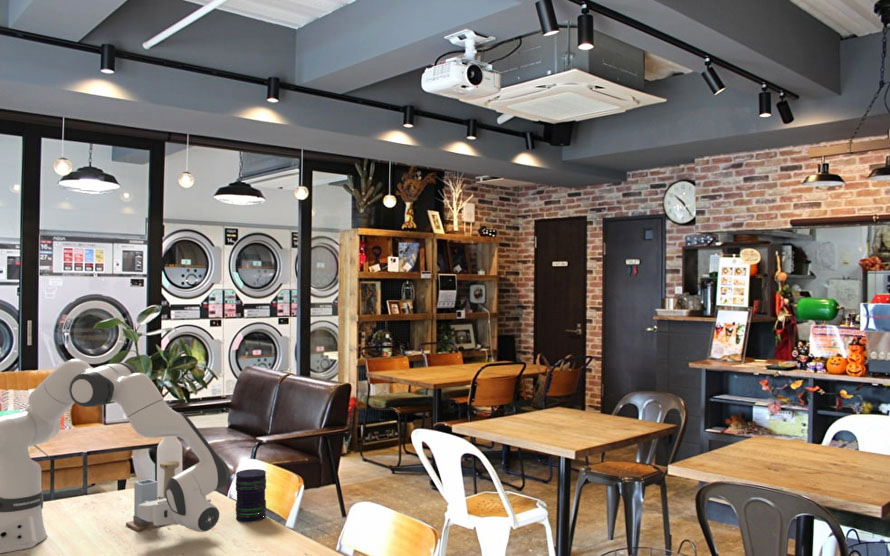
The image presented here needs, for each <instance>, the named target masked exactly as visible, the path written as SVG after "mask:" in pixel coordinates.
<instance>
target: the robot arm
mask: <svg viewBox="0 0 890 556" xmlns="http://www.w3.org/2000/svg"><path fill="white" fill-rule="evenodd" d="M111 402H114V403H117V404H118V405H119V406H120V407H121V409H122V410H123V412H124V414H125V416H126V418H127V420H128V422H129V424H130V425H131V427H132V429H133V430H134V431H135V432H136V434H138V435H140V436H142V437H145V438H150V439H151V438H153V439H155V438H163V437H165V436H177V438H180V439H182V440H184V442H185V443H186V444H187V446H188V447H189V448H190V450H192V452H193V453H194V454H195V456H196V457H197V458H198V460H199V462H197V463H195V464H194V465H191V466H190V467H188V468H186V469H185V470H184V469H183V470H182V472H180V473H179V474H177V475H175V476H173V477H172V478H170V479H169V480H168V483H167V486H166V491H165V496H166V498H164V499H163V498H159V499H157V500H155V501H144V503H142V504H139V505H138V507H137V515H138V517H139V518H141V519H143V520H145V521H148V522H153V525H155V526H159V525H164V526H169V525H175V526H178V525H179V526H182V527H185V528H186V529H187V530H191V531H194V532H197V533H205V532H208V531H210V530H211V529H213V528H214V527H215V526H216V525H217V523H218V522H219V519H220V511H219V509H218V507H217V506H215V505H214V504H213V503H211V502H212V500H211V498H210V497H207V496H208V495H210V494H212V493H214V492H216V491H218V490H220V489H222V488H223V487H226V486H227V484H228V481H229V477H230V467H229V466H228V464H227V463H226V461H225V460H224V459H223V458H222V457H221V456H220V455H219V454H218V453H217V452H216V451H215V450H214V449H213V447H212V445H210V444H209V442H208V441H207V439H206V438H205V436H204V435H203V434H202V433H201V432H200V430H199V429H198V428H197V427H196V425H195V424H194V423H193V422H192V420H191V419H190V418H189V417H188V416H187V415H186V414H185V413H183V412H178V411H176V410H174V409H172V407H170V406H169V405H168V404H167V403H166V401H165V399H164V397H163V395H162V393H161V392H160V391H159V389H158V388H157V386H156V384H155V383H154V382H153V381H152V379H151V378H150V377H149V376H148V374H146V373H142V372H137V370H136V368H135V367H134V366H133V365H131V364H130V363H126V362H111V363H107V364H102V365H99V366H97V367H93V366H91V365H90V364H89V363H88V362H87V361H85V360H82V359H80V358H71V359H69V360H66V361H65V362H64V363H61V364H60V365H59V366H58V367H57V368H55V369H54V370H53V371H52V372H51V373H50V374H49V375H47V377H45V378H44V379H43V381H41V382H40V383H39V384H38V385H37V386H36V388H35V389H34V390H32V392H31V393H29V396H28V407H26V408H25V409H23V410H21V411H18V412H14V413H13V412H12V413H8V414H5V415H0V554H5V553H8V552H15V551H19V550H25V549H26V550H27V549H31V548H34V547H36V546H37V544H39V543H41V542H42V541H44V540H46V539H47V537H48V534H47V531H46V527H45V523H44V517H43V509H44V507H43V506H44V493H43V490H42V466H41V465H40V463H38V462H37V461H35V460H33V459H32V458H31V456H30V453H29V452H30V451H29V447H33V446H36V445H41V444H43V443H45V442H47V441H49V440H51V439H53V438H54V437H56V436H57V435H58V433H59V431H60V430H61V420H60V419H61V418H62V417H63V415H64V414H65V413H66V412H67V411H68V410H70V408H71V407H72V406H73V405H75V404H76V405H78V406H80V407H83V408H84V407H85V408H96V407H100V406H105V405H106V406H107V405H109V404H110V403H111Z"/></svg>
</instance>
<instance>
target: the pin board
mask: <svg viewBox="0 0 890 556" xmlns="http://www.w3.org/2000/svg"><path fill="white" fill-rule="evenodd" d="M125 526H126V527H127V528H130V529H132V530H134V531H135V532H138V533H140V532H143V531H147V530H152V529H157V528H160V527H164V526H165V525H159V526H155V525H153V523H152V524H148V525H144V526H141V525H138V524H136V523H134V522H133V520H131V521H127V522H126V521H125Z"/></svg>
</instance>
